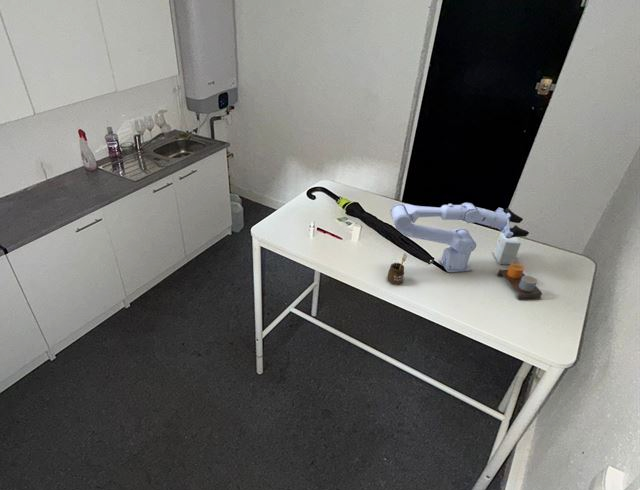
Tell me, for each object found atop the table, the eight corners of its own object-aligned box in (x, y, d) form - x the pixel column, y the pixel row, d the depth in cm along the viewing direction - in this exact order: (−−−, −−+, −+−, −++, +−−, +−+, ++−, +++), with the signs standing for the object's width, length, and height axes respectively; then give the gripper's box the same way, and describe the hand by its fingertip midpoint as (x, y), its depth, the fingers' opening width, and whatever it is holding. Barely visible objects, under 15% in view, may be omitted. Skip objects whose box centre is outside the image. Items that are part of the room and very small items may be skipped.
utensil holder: (384, 278, 163) (388, 254, 156) (396, 274, 165) (401, 249, 158) (393, 286, 159) (398, 261, 152) (406, 282, 161) (411, 257, 154)
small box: (513, 265, 167) (521, 243, 161) (498, 263, 168) (506, 242, 162) (507, 254, 173) (515, 233, 167) (493, 253, 174) (500, 232, 168)
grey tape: (523, 292, 149) (526, 283, 147) (516, 283, 153) (519, 275, 150) (536, 291, 149) (539, 283, 147) (528, 283, 153) (532, 275, 150)
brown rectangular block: (518, 299, 149) (520, 294, 148) (497, 275, 162) (499, 269, 160) (539, 298, 149) (542, 292, 148) (516, 273, 162) (519, 268, 160)
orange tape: (511, 278, 155) (514, 270, 153) (504, 271, 159) (507, 263, 157) (523, 278, 155) (527, 270, 153) (516, 270, 159) (519, 262, 157)
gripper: (503, 224, 146) (537, 233, 147) (493, 198, 156) (525, 207, 157) (490, 237, 152) (524, 246, 152) (481, 211, 161) (513, 220, 162)
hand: (524, 227), depth 155 cm, fingers open, 7 cm apart
